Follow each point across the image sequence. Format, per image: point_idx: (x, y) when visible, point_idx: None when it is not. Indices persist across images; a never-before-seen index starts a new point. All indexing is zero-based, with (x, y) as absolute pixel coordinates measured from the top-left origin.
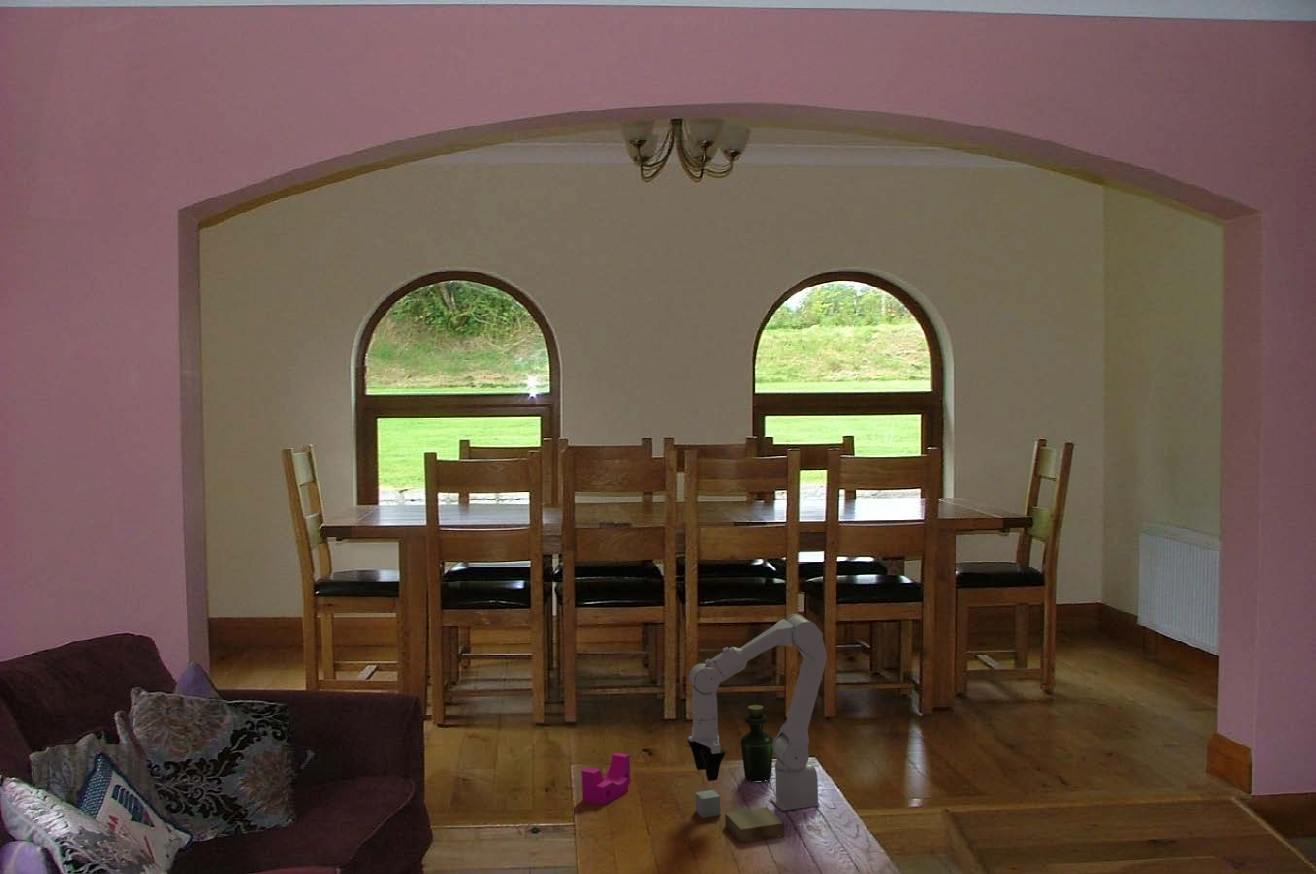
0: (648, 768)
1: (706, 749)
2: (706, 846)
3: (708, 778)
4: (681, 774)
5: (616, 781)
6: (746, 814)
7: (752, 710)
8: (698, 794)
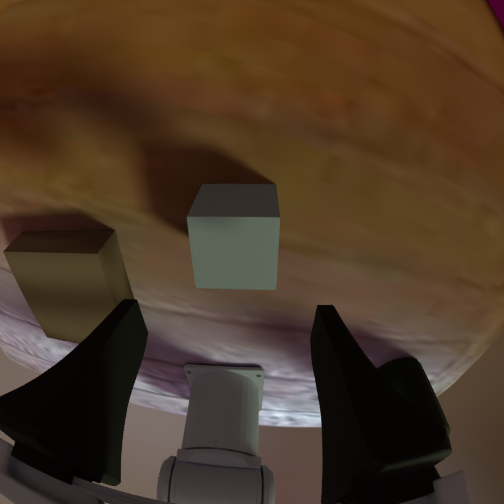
0: None
1: (326, 442)
2: (8, 147)
3: (115, 308)
4: None
5: None
6: (86, 299)
7: None
8: (247, 221)
